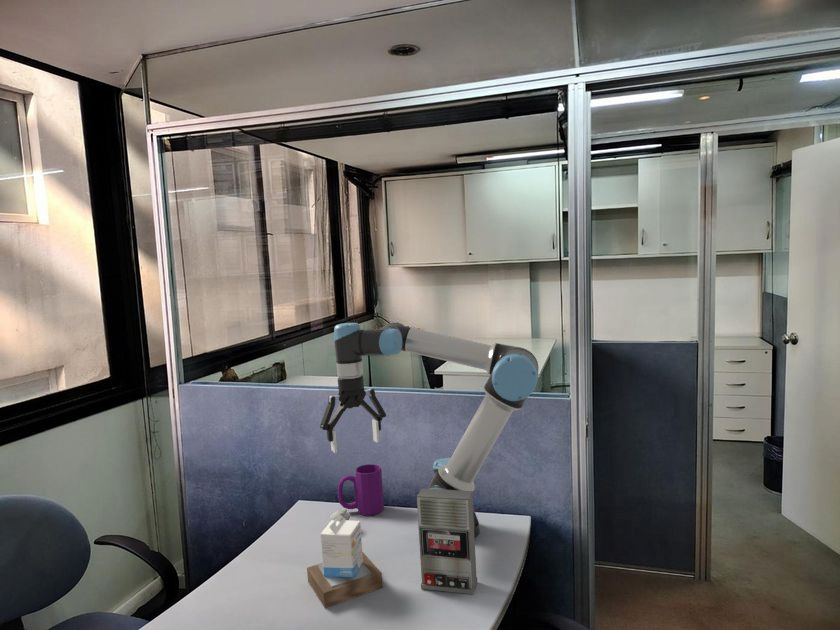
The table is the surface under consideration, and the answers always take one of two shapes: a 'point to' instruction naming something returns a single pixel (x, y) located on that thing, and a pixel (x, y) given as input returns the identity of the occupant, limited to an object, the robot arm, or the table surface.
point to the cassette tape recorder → (447, 540)
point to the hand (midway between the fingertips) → (355, 446)
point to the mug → (365, 490)
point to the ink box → (341, 548)
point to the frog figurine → (340, 512)
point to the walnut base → (344, 583)
